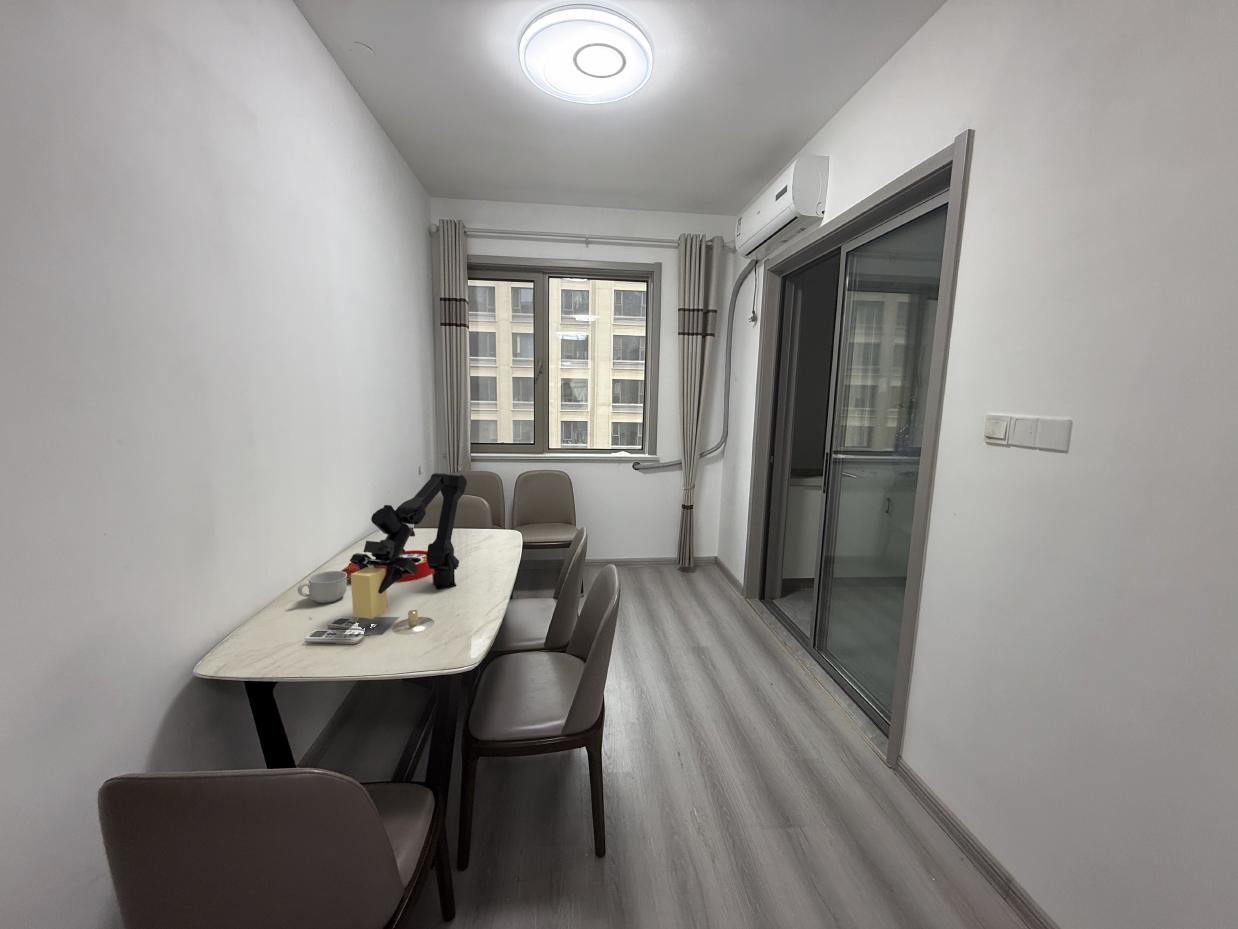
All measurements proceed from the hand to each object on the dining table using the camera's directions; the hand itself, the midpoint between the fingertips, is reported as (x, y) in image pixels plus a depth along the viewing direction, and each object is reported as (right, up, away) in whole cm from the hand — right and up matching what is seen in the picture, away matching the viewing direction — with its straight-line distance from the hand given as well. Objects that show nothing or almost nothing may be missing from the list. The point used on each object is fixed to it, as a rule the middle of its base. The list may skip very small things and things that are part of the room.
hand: (369, 591), depth 133 cm
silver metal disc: (+12, -10, +1) cm, 15 cm away
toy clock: (-11, -6, +47) cm, 49 cm away
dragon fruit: (-24, -6, +38) cm, 45 cm away
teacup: (-25, -9, +21) cm, 34 cm away
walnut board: (+6, -11, +1) cm, 12 cm away
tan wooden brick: (0, -6, +1) cm, 6 cm away
